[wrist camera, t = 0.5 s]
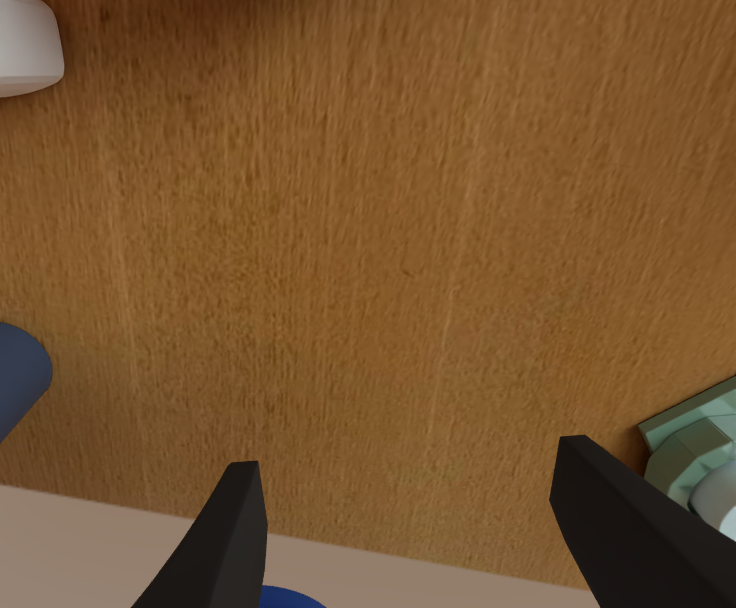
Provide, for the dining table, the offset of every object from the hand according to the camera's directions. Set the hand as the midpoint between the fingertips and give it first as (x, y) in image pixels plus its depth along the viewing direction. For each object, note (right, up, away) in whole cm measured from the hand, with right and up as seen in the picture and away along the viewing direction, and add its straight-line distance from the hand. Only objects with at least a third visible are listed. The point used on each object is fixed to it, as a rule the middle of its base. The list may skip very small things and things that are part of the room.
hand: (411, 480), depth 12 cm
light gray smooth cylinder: (+16, -5, +12) cm, 21 cm away
